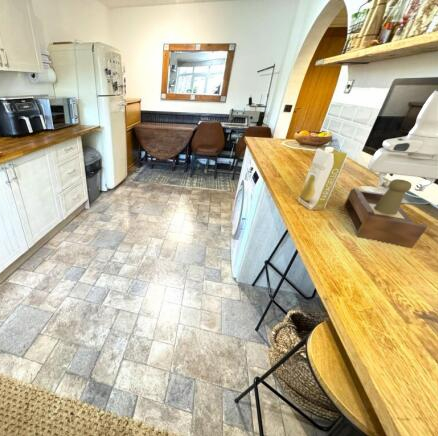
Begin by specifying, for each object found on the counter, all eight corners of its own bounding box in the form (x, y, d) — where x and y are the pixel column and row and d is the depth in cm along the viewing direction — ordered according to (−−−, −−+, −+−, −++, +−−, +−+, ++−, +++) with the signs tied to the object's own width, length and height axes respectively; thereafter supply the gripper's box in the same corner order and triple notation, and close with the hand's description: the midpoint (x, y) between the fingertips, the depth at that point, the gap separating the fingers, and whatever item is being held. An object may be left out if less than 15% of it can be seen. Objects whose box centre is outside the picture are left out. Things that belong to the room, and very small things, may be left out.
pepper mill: (400, 215, 80) (420, 185, 74) (378, 213, 81) (396, 182, 76) (391, 207, 84) (409, 178, 79) (370, 205, 86) (386, 176, 80)
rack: (386, 214, 93) (398, 193, 88) (411, 248, 74) (429, 224, 70) (342, 206, 98) (352, 186, 94) (357, 237, 80) (370, 213, 75)
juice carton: (294, 201, 103) (314, 144, 90) (311, 200, 103) (334, 144, 91) (309, 211, 95) (333, 151, 82) (327, 210, 95) (354, 150, 83)
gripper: (466, 146, 70) (437, 189, 77) (377, 140, 78) (359, 179, 85) (480, 151, 65) (447, 197, 72) (384, 144, 73) (363, 186, 80)
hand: (399, 187), depth 78 cm, fingers open, 8 cm apart
